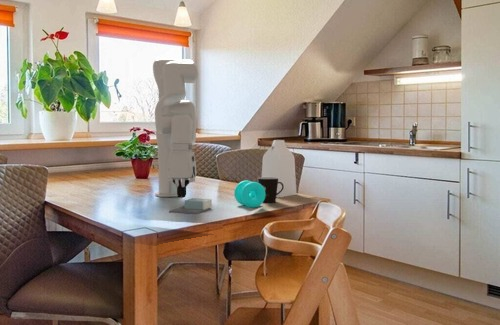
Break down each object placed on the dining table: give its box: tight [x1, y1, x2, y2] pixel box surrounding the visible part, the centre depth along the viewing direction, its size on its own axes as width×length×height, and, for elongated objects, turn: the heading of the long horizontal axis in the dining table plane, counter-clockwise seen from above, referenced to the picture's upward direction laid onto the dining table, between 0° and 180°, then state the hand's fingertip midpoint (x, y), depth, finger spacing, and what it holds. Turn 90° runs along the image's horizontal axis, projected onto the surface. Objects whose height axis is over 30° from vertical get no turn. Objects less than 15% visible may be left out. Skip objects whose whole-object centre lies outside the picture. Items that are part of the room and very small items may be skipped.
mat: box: [168, 205, 212, 215], centre depth 175 cm, size 12×11×1 cm
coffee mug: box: [257, 176, 284, 204], centre depth 198 cm, size 12×9×10 cm
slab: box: [184, 197, 213, 210], centre depth 178 cm, size 7×3×8 cm
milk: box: [261, 139, 297, 198], centre depth 219 cm, size 12×12×26 cm
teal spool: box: [233, 179, 265, 209], centre depth 186 cm, size 10×10×10 cm
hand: (181, 197), depth 177 cm, fingers closed
